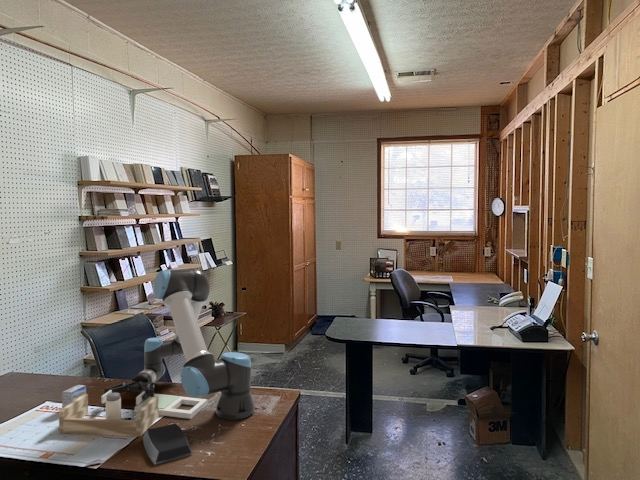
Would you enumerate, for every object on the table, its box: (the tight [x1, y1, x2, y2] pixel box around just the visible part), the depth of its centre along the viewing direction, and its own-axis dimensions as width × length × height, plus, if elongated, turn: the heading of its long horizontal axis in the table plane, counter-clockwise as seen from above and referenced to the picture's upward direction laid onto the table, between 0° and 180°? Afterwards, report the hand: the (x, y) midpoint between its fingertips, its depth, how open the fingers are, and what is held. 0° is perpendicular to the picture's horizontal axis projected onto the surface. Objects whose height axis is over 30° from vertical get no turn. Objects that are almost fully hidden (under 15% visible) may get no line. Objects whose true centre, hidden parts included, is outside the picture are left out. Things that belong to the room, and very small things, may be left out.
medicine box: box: [61, 384, 87, 409], centre depth 174 cm, size 8×4×9 cm, turn 168°
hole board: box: [134, 393, 209, 420], centre depth 177 cm, size 24×14×2 cm, turn 78°
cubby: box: [58, 393, 159, 437], centre depth 162 cm, size 16×29×8 cm, turn 88°
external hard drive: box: [142, 423, 193, 465], centre depth 147 cm, size 13×19×4 cm
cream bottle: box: [105, 393, 122, 420], centre depth 163 cm, size 5×5×10 cm
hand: (119, 400), depth 169 cm, fingers open, 13 cm apart
